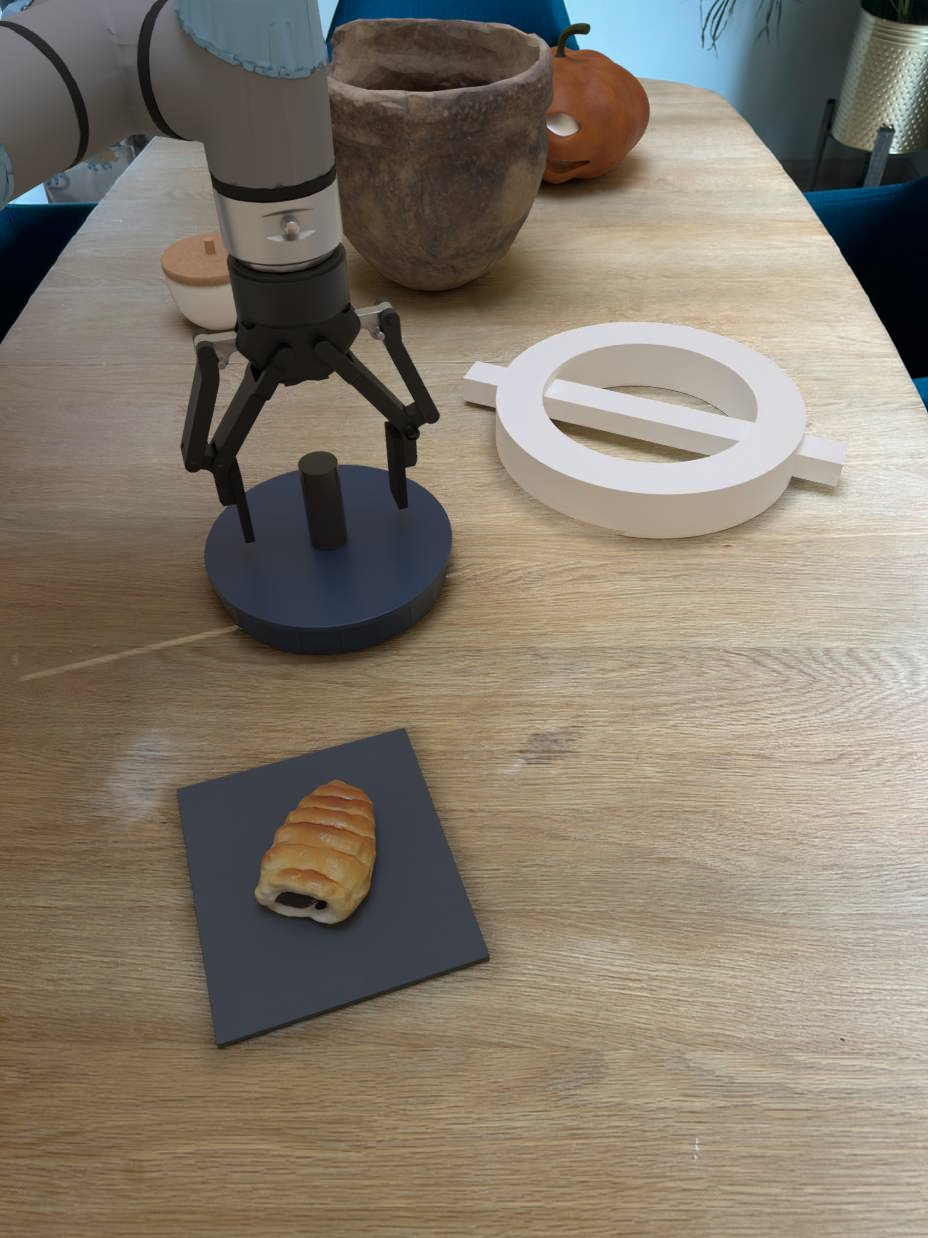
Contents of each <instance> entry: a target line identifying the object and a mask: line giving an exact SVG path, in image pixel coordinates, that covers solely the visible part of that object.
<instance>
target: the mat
mask: <svg viewBox="0 0 928 1238" xmlns="http://www.w3.org/2000/svg"><path fill="white" fill-rule="evenodd" d="M333 780H340V781H342V782H344V783H345V784H348V785H352V786H354V787H357V788H360V789H361V790H362V791H363V792H364V793H365V794H367V795H368V797H369V799H370V800H371V802H372V804H373V807H374V817H375V825H376V826H375V838H376V858H375V862H374V866H373V871H372V876H371V884H370V889H369V891H368V893H367V895H366V896H365V897H364V899H363V900H362V901H361V903H360V904H359V905H358V906H357V908H356V909H355V910H354V912H353V913H351V914H350V915H349V916H348V917H347V918H346V919H344V920H343V921H340V922H337V923H334V924H328V923H322V922H318V921H316V920H314V919H313V918H311V917H296V916H286V915H283V914H279V913H277V912H275V911H273V910H271V909H269V908H268V907H267V906H265V905H262V904H260V903H259V902H258V900H257V899H256V897H255V889H256V888H257V886H258V884H259V880H260V876H261V860H262V858H263V855H264V854H265V852H266V851H267V850H269V849H271V847H272V845H273V841H274V836H275V833H276V831H277V829H278V828H279V827H281V826H283V825H284V823H285V821H286V818H287V816H288V815H289V813H290V812H291V811H294V810H296V809H297V807H298V804H299V802H300V801H301V800H302V799H303V798H304V797H305V796H309V795H310V794H312V793H313V792H314V791H315V790H316V789H317V788H318V787H320V786H321V785H326V784H328V783H329V782H331V781H333ZM176 794H177V801H178V808H179V814H180V819H181V826H182V832H183V838H184V845H185V852H186V857H187V864H188V871H189V876H190V882H191V883H190V884H191V889H192V895H193V902H194V908H195V909H194V910H195V914H196V921H197V927H198V935H199V940H200V946H201V952H202V959H203V965H204V972H205V978H206V984H207V990H208V991H207V992H208V997H209V1004H210V1010H211V1016H212V1022H213V1030H214V1034H215V1041H216V1046H217V1048H219V1049H220V1048H221V1049H222V1048H223V1047H227V1046H229V1045H233V1044H236V1043H240V1042H243V1041H246V1040H248V1039H251V1038H254V1037H257V1036H260V1035H263V1034H266V1033H269V1032H273V1031H276V1030H279V1029H282V1028H284V1027H288V1026H290V1025H294V1024H297V1023H299V1022H303V1021H306V1020H309V1019H312V1018H315V1017H318V1016H321V1015H324V1014H328V1013H331V1012H334V1011H336V1010H339V1009H343V1008H347V1007H349V1006H352V1005H355V1004H358V1003H362V1002H364V1001H367V1000H370V999H373V998H376V997H379V996H383V995H386V994H388V993H392V992H394V991H398V990H401V989H404V988H407V987H410V986H413V985H416V984H419V983H423V982H426V981H429V980H431V979H435V978H437V977H440V976H444V975H446V974H450V973H453V972H456V971H459V970H462V969H465V968H468V967H471V966H474V965H477V964H480V963H484V962H486V961H489V960H490V958H491V957H490V952H489V950H488V947H487V944H486V942H485V939H484V937H483V934H482V931H481V928H480V926H479V923H478V921H477V918H476V914H475V912H474V909H473V907H472V904H471V902H470V899H469V896H468V893H467V891H466V889H465V886H464V883H463V880H462V877H461V874H460V872H459V869H458V866H457V864H456V861H455V859H454V855H453V853H452V851H451V848H450V845H449V842H448V839H447V837H446V834H445V831H444V829H443V826H442V824H441V821H440V818H439V815H438V813H437V810H436V807H435V804H434V802H433V799H432V797H431V794H430V791H429V788H428V785H427V783H426V781H425V778H424V774H423V772H422V770H421V767H420V764H419V760H418V758H417V756H416V754H415V751H414V748H413V745H412V743H411V740H410V738H409V734H408V732H407V730H406V727H401V728H398V729H394V730H391V731H387V732H384V733H383V732H382V733H379V734H376V735H371V736H368V737H365V738H360V739H357V740H353V741H349V742H346V743H342V744H338V745H334V746H331V747H327V748H324V749H320V750H317V751H312V752H309V753H305V754H301V755H297V756H294V757H291V758H286V759H283V760H279V761H276V762H272V763H268V764H265V765H264V764H263V765H260V766H257V767H254V768H250V769H249V768H248V769H246V770H242V771H239V772H234V773H231V774H227V775H223V776H219V777H216V778H212V779H209V780H205V781H201V782H198V783H193V784H190V785H187V786H183V787H178V788H176Z"/></svg>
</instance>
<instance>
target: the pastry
mask: <svg viewBox="0 0 928 1238" xmlns="http://www.w3.org/2000/svg"><path fill="white" fill-rule="evenodd" d="M375 826H376V825H375V817H374V807H373V804H372V802H371V800H370V799H369V797H368V795H367V794H365V793H364V792H363V791H362V790H361V789H360V788H357V787H354V786H352V785H348V784H345V783H344V782H342V781H340V780H333V781H331V782H329V783H328V784H326V785H321V786H320V787H318V788H317V789H316V790H315V791H314V792H313V793H312V794H310V795H309V796H305V797H304V798H303V799H302V800H301V801H300V802H299V804H298V807H297V809H296V810H294V811H291V812H290V813H289V815H288V816H287V818H286V821H285V823H284V825H283V826H281V827H279V828H278V829H277V831H276V833H275V836H274V841H273V845H272V847H271V849H269V850H267V851H266V852H265V854H264V855H263V858H262V860H261V876H260V880H259V884H258V886H257V888H256V889H255V897H256V899H257V900H258V902H259V903H260V904H262V905H265V906H267V907H268V908H269V909H271V910H273V911H275V912H277V913H279V914H283V915H286V916H296V917H311V918H313V919H314V920H316V921H318V922H322V923H328V924H334V923H337V922H340V921H343V920H344V919H346V918H347V917H348V916H349V915H350V914H351V913H353V912H354V910H355V909H356V908H357V906H358V905H359V904H360V903H361V901H362V900H363V899H364V897H365V896H366V895H367V893H368V891H369V889H370V884H371V876H372V871H373V866H374V862H375V858H376V838H375Z"/></svg>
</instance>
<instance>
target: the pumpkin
mask: <svg viewBox="0 0 928 1238" xmlns="http://www.w3.org/2000/svg"><path fill="white" fill-rule="evenodd" d="M590 33H591V24H590V23H586V22H577V23H573V24H570V25H568V26H567V27H565V28H564V29H563V31H561V33H560V35H559V37H558V40H557V45H556V46H552V47H550V50H551V56H552V64H553V72H554V74H553V81H552V84H553V92H554V94H553V102H552V104H551V105H550V107H549V108H548V110H547V111H546V116H545V117H546V123H547V129H548V155H547V159H546V168H545V170H544V173H543V176H542V180H543V181H545V182H548V183H550V184H554V185H559V184H562V183H565V182H568V181H570V180H572V179H580V180H588V179H594V178H598V177H600V176H603V175H605V174H607V173H608V172H610V171H612V170H614V169H615V168H616V167H617V166H618V165H619V164H620V163H621V162H622V161H623V160H624V159H625V158H626V156H627V155H628V153H629V152H631V151H632V150H633V149H634V148H635V147H636V146H637V144H638V143H639V142H640V141H641V139H642V138H643V136H644V134H645V133H646V130H647V128H648V125H649V123H650V118H651V117H650V116H651V108H650V101H649V97H648V94H647V92H646V90H645V87H643V85H642V84H641V82H640V81H639V80H638V78H637V77H636V76H635V75H633V73H632V72H630V71H629V70H627V68H626V67H623V65H621V64H618V63H616V62H615V61H614V60H612V59H611V57H609V56H607V55H606V54H604V53H602V52H600V51H597V50H594V49H589V48H588V49H587V48H586V49H585V48H584V49H577V50H573V49H571V48H568V47H566V44H567V42H568V39H569V38H571V36H575V35H581V36H582V35H583V36H587V35H588V34H590Z"/></svg>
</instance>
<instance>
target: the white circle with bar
mask: <svg viewBox="0 0 928 1238" xmlns="http://www.w3.org/2000/svg"><path fill="white" fill-rule="evenodd" d="M627 386H628V387H629V386H634V387H635V386H638V387H651V388H652V387H653V388H659V389H666V390H672V391H675V392H679V393H682V394H685V395H689V396H692V397H695V398H697V399H699V400H701V401H703V402H706V403H708V404H710V405H711V406H714V407H715V408H717V409H718V410H719V411H721V412H723V413H724V415H722V414H718V413H713V412H709V411H704V410H699V409H695V408H691V407H687V406H682V405H677V404H673V403H667V402H665V401H660V400H655V399H650V398H647V397H641V396H636V395H633V394H627V393H623V392H618V391H614V390H609V389H608V388H614V387H627ZM462 400H463V401H464V402H465V401H466V402H470V403H473V404H478V405H482V406H486V407H490V408H495V446H496V451H497V454H498V457H499V459H500V462H501V464H502V465H503V468H504V469H505V471H506V472H507V473H508V475H509V476H510V477H511V478H512V480H513V481H514V482H515V483H516V484H517V485H518V486H519V487H520V488H521V489H522V490H523V491H525V492H526V493H527V494H528V495H530V496H531V497H532V498H533V499H535V500H537V501H538V502H540V503H541V504H543V505H544V506H546V507H548V508H549V509H552V510H553V511H555V512H558V513H560V514H562V515H564V516H567V517H568V518H571V519H574V520H577V521H580V522H583V523H586V524H589V525H592V526H596V527H602V528H605V529H609V530H616V531H619V532H618V533H614V535H615V536H616V535H617V536H622V537H629V538H638V539H662V540H663V539H664V540H665V539H680V538H681V539H682V538H691V537H699V536H703V535H710V534H714V533H718V532H721V531H724V530H728V529H731V528H734V527H736V526H739V525H741V524H743V523H746V522H748V521H750V520H752V519H754V518H756V517H757V516H759V515H761V514H763V512H765V511H766V510H768V509H769V508H770V507H771V506H773V505H774V504H775V503H776V502H777V501H778V500H779V499H780V498H781V497H782V495H783V494H784V493H785V491H786V489H787V488H788V486H789V485H790V482H791V481H792V478H798V479H802V480H807V481H811V482H815V483H819V484H823V485H828V486H830V487H831V486H832V487H837V486H838V482H839V481H840V476H841V473H842V470H843V468H844V463H845V461H846V457H847V454H848V450H849V447H850V443H848V442H844V441H839V440H835V439H830V438H826V437H823V436H816V435H813V434H809V433H805V431H806V426H807V417H808V416H807V408H806V405H805V401H804V400H805V399H804V397H803V395H802V393H801V391H800V390H799V388H798V386H797V385H796V383H795V382H794V381H793V380H792V379H791V377H790V376H789V375H788V374H787V373H786V372H785V370H783V369H782V368H781V367H780V366H778V364H776V363H775V362H773V361H772V360H771V359H769V358H768V357H767V356H765V355H764V354H762V353H760V352H759V351H757V350H755V349H753V348H752V347H749V346H747V345H745V344H743V343H741V342H738V341H736V340H734V339H732V338H729V337H726V336H723V335H720V334H718V333H714V332H711V331H708V330H703V329H699V328H695V327H690V326H685V325H680V324H672V323H666V322H665V323H663V322H652V321H651V322H650V321H619V322H618V321H617V322H606V323H599V324H591V325H586V326H581V327H578V328H572V329H570V330H566V331H563V332H559V333H557V334H554V335H551V336H549V337H547V338H545V339H543V340H540V341H538V342H537V343H535V344H533V345H531V346H529V347H528V348H526V349H525V350H524V351H522V352H521V353H519V355H518V356H516V357H515V358H514V359H513V360H512V361H511V362H510V364H509V365H507V367H505V366H501V365H497V364H493V363H489V362H483V361H478V360H476V361H475V363H473V364H472V366H471V367H470V369H469V370H467V372H466V374H465V375H464V376H463V377H462ZM551 419H552V420H556V421H561V422H565V423H569V424H574V425H578V426H582V427H585V428H590V429H595V430H599V431H604V432H607V433H612V434H617V435H620V436H624V437H628V438H634V439H637V440H642V441H645V442H650V443H654V444H659V445H663V446H666V447H667V446H668V447H671V448H675V449H680V450H683V451H689V452H692V453H697V454H702V455H705V456H706V457H702V458H698V459H693V460H687V461H686V460H685V461H676V462H646V461H636V460H630V459H625V458H619V457H615V456H611V455H609V454H608V455H607V454H605V453H602V452H598V451H596V450H594V449H591V448H589V447H587V446H585V445H583V444H580V443H578V442H577V441H575V440H573V439H572V438H570V437H569V436H567V435H566V434H565V433H564V432H563V431H561V430H560V429H559V428H558V427H557V426H556V425H555V424H554V422H553V421H552V420H551Z"/></svg>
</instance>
